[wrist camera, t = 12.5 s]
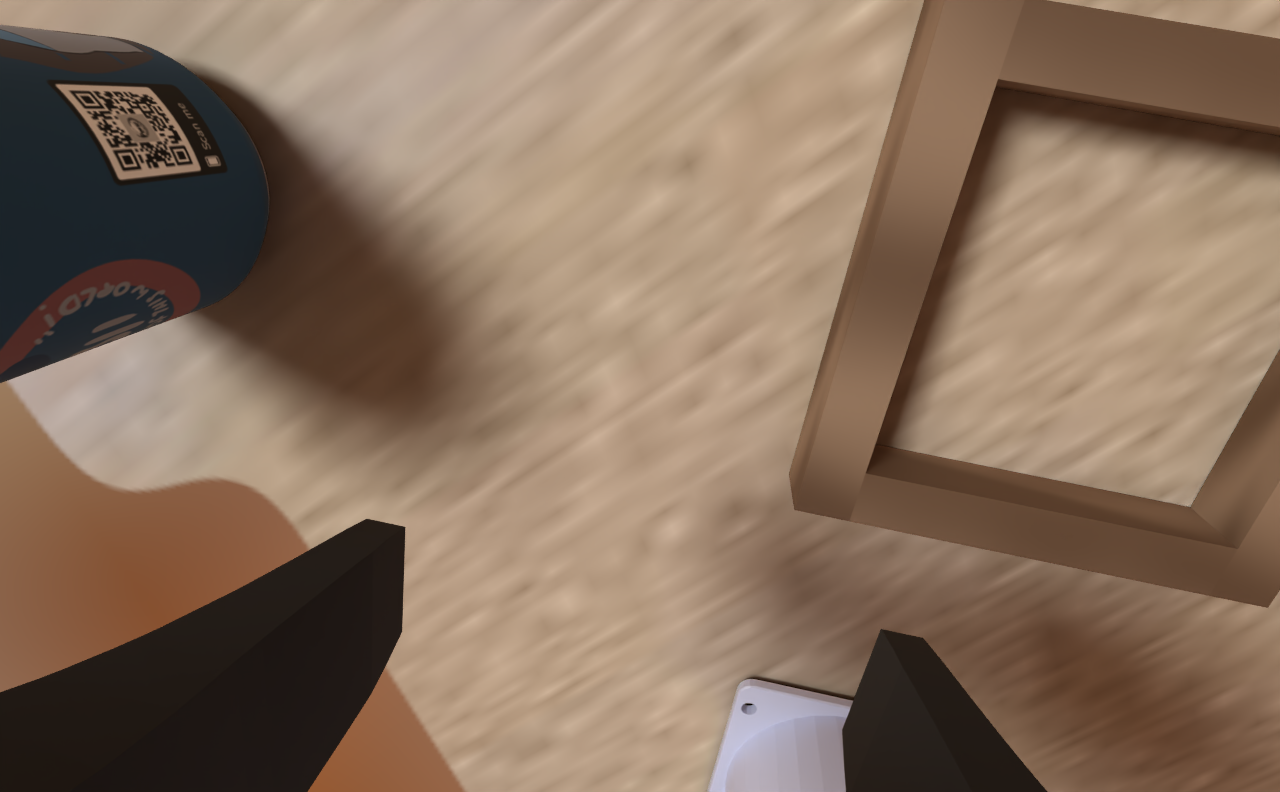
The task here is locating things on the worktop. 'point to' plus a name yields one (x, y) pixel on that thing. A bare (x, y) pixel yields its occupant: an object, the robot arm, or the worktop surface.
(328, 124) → the worktop surface
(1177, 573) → the frame
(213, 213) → the soda can
